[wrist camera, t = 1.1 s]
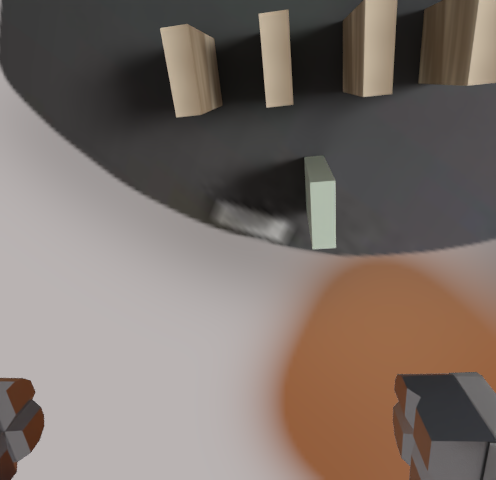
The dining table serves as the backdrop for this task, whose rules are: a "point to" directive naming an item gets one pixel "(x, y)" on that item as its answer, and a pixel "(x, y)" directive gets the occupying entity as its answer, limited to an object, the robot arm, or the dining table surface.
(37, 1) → the dining table surface
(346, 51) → the domino
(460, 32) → the domino
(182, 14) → the dining table surface
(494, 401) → the robot arm
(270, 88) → the domino
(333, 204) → the end domino
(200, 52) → the domino
